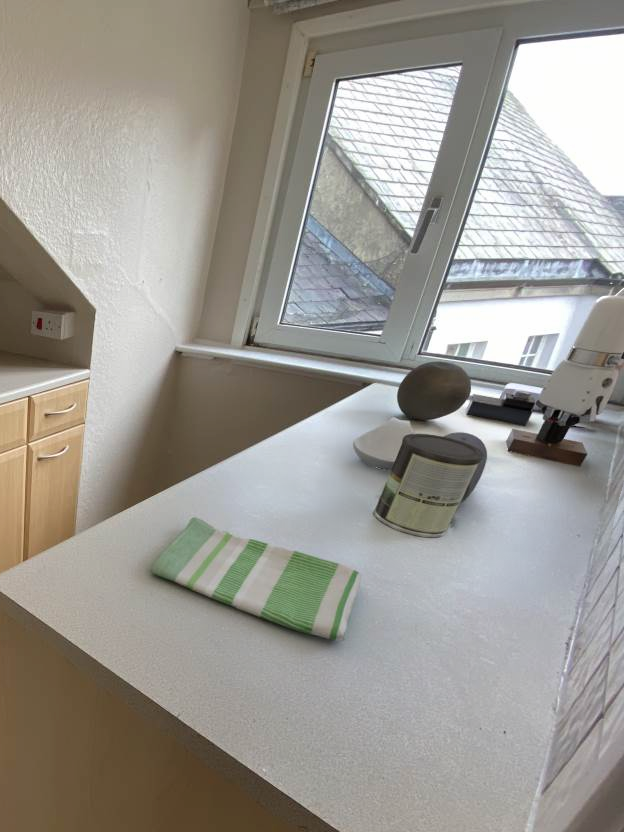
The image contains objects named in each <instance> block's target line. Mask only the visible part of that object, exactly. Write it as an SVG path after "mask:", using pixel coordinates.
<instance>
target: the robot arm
mask: <svg viewBox="0 0 624 832" xmlns="http://www.w3.org/2000/svg"><path fill="white" fill-rule="evenodd" d="M623 352H624V287H623V288H621V289H620V290H619V291H618V292H617V293H616V294H615V295H603V296H601V297H599V298H598V299H596V301H595V302H594V303H593V305H592V307H591V309H590V311H589V313H588V315H587V317H586V319H585V321H584V323H583V325H582V327H581V329H580V330H579V332H578V334H577V336H576V338H575V340H574V342H573V344H572V346H571V347H570V350H569V352H568V354H567V356H566V358H565V359H562V360H561V362H559V363H558V364H557V366H556V367H555V369H554V370H553V372H552V373H551V375H550V376H549V377H548V378H547V381H546V382H545V384H544V385H543V387H542V388H543V389H542V391H541V393H540V396H539V400H538V401H537V402H536V403H535V404H536V405H537V406H538V407H539V408H540V410H541V412H542V420H543V423H542V425H543V424H544V422H545V420H547V419H552V420H559V418H560V416H561V414H562V412H563V411H565V412H564V414H563V416H562V417H561V419H560V421H559V423H558V424H555V425H554V427H553V429H552V430H551V432H550V434H549V436H548V438H547V440H546V441H548V442H561V441H562V440H563V439H565V437H566V436H567V433H568V432H569V430H570V428H571V427H570V426H576V425H578V424H580V423H594V422H595V421H596V418H597V416H599V415H600V414H602V413H603V410H605V408H606V406H607V404H608V402H609V400H610V398H611V395H612V394H613V391H614V388H615V386H616V383H617V380H618V376H619V374H618V370H617V369H615V367H616V365H622V364H623V363H624V359H621V356H622V354H623ZM582 414H584V415H583V416H581V415H582ZM570 417H571V418H570Z"/></svg>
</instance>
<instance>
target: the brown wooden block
mask: <svg viewBox="0 0 624 832" xmlns="http://www.w3.org/2000/svg"><path fill="white" fill-rule="evenodd" d="M537 435H538V433H536V432H532V431H526V430H521V429H516V428H511V431H510V432H509V435H508V437H507V438H506V448H508V450H507V452H510V451H512V452H511V453H514V452H516V453H515V454H520V455H525V456H528V455H529V456H528V457H534V458H537V459H543V460H547V461H552V462H556V463H560V464H566V465H570V466H575V467H578V468H579V467H581V466H582V465H583V463H584V462H585V460H586V458H587V456H588V452H587V450H586V448H585V445H584V442H581V441H577V440H571V439H566V438H564V439H563V440H562V441H561V442H543V441H540V440H537V439H536V437H537Z"/></svg>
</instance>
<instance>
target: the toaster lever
mask: <svg viewBox="0 0 624 832" xmlns="http://www.w3.org/2000/svg"><path fill="white" fill-rule="evenodd" d="M529 396H530V392H528V391H522V390H515V392H514V394H513V396H512V398H516V399H522V400H528V398H529Z"/></svg>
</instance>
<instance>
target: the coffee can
mask: <svg viewBox="0 0 624 832" xmlns="http://www.w3.org/2000/svg"><path fill="white" fill-rule="evenodd" d="M443 436H444V435H437V434H429V433H413V434H408V435H406V436H404V437H403V440H402V445H401V447H400V450H399V452H398V455H397V457H396V460H395V462H394V465H393V467H392V470H390V472H389V475H388V477H387V479H386V482H385V485H384V487H383V489H382V492H381V494H380V497H379V499H378V500H377V501H378V502H377V504H376V506H375V509H374V510H373V514H375V515H374V516H375V518H376V517H377V518H378V519H379V520H378V519H377V518H376V519H377V520H378V521H380V522H381V521H382V522H383V523H382V522H381V523H382V524H384V525H386V526H387V525H388V527H389V528H392V529H394V530H396V531H399V532H401V533H405V534H407V535H412V536H416V537H423V538H439V536H440V537H444V536H445V535H446V534H447V530H448V528H449V526H450V524H451V523H452V520H453V518H454V516H455V514H456V512H457V510H458V508H459V506H460V504H461V503H460V502H461V500H462V498H463V496H464V494H465V492H466V489H467V487H468V486H469V483H470V481H471V479H472V477H473V475H474V473H475V471H476V469H477V467H478V465H479V463H480V461H481V460H482V459H483V457H484V453H483V452H482V451H481V450H479V449H478V448H476V447H474V446H472V445H470V444H467V443H465V442H462V441H458V440H455V439H451V438H447V437H443Z"/></svg>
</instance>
